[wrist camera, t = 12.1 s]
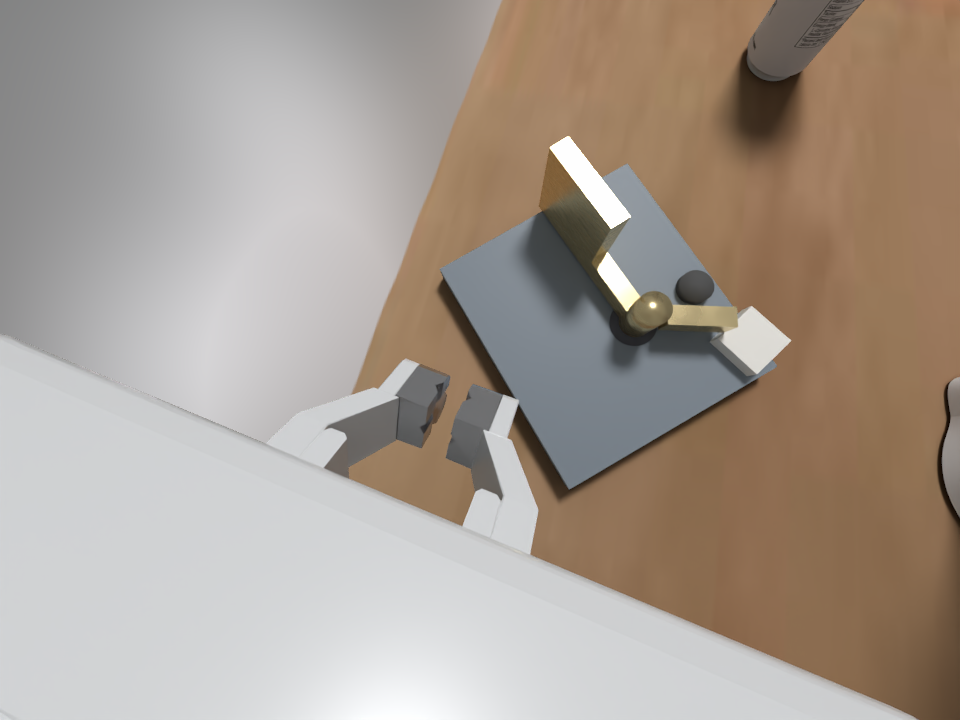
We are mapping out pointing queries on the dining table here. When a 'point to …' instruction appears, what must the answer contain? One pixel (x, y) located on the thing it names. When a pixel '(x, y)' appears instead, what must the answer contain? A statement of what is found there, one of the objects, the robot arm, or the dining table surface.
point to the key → (590, 234)
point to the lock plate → (592, 336)
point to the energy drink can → (795, 35)
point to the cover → (751, 342)
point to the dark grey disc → (694, 287)
